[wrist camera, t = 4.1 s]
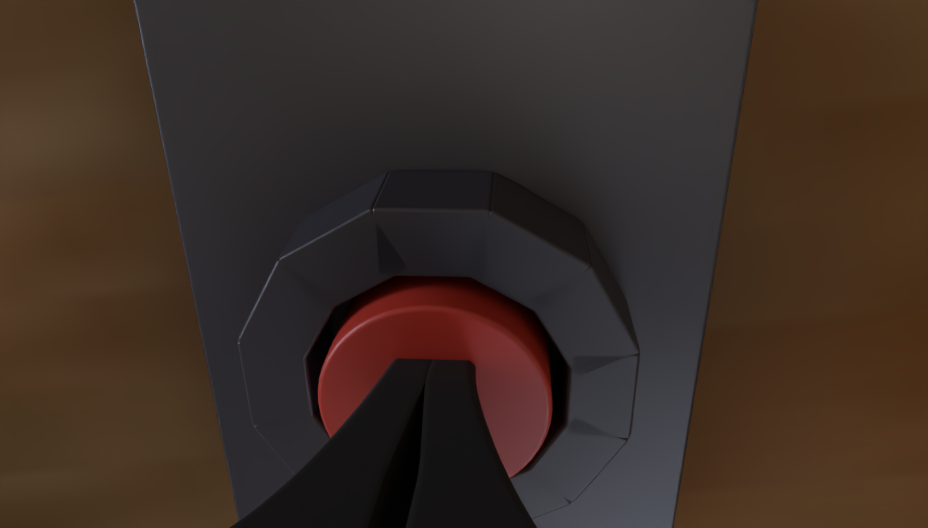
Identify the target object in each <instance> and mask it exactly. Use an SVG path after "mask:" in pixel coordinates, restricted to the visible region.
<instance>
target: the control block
mask: <svg viewBox="0 0 928 528" xmlns="http://www.w3.org/2000/svg"><path fill="white" fill-rule="evenodd" d="M133 1H134V6H135V11H136V15H137V20H138V25H139V30H140V35H141V40H142V45H143V50H144V55H145V60H146V65H147V70H148V75H149V80H150V85H151V90H152V95H153V100H154V105H155V110H156V114H157V119H158V124H159V129H160V134H161V139H162V144H163V149H164V154H165V159H166V164H167V169H168V174H169V179H170V184H171V189H172V194H173V199H174V204H175V209H176V213H177V218H178V223H179V228H180V233H181V238H182V243H183V248H184V253H185V258H186V263H187V268H188V273H189V278H190V283H191V288H192V293H193V298H194V303H195V308H196V313H197V317H198V322H199V327H200V332H201V337H202V342H203V347H204V352H205V357H206V362H207V367H208V372H209V377H210V382H211V387H212V392H213V397H214V402H215V407H216V412H217V416H218V421H219V426H220V431H221V436H222V441H223V446H224V451H225V456H226V461H227V466H228V471H229V476H230V481H231V486H232V491H233V496H234V501H235V506H236V511H237V515H238V520H239V521H240V520H241V519H243V518H244V517H245V516H247V515H248V514H249V513H251V512H252V511H253V510H254V509H256V508H257V507H258V506H259V505H261V504H262V503H263V502H264V501H265V500H266V499H268V498H269V497H270V496H271V495H272V494H273V493H275V492H276V491H277V490H278V489H279V488H280V487H281V486H283V485H284V484H285V483H286V482H287V481H288V480H289V479H290V478H291V477H292V476H293V475H295V474H296V473H297V472H298V471H299V470H300V469H301V468H302V467H303V466H304V465H305V464H306V463H307V462H308V461H309V460H310V459H311V458H312V457H313V456H314V455H315V454H316V453H317V452H318V450H319V449H320V448H321V447H322V446H323V445H324V444H325V443H326V442H327V441H328V440H329V439H330V436H329V434H328V432H327V430H326V428H325V426H324V423H323V420H322V417H321V413H320V408H319V404H318V384H319V377H320V373H321V370H322V366H323V364H324V361H325V359H326V357H327V354H328V352H329V349H330V347H331V345H332V342H333V340H334V337H335V335H336V333H337V330H338V328H339V325H340V323H341V321H342V318H343V316H344V313H345V311H346V309H347V307H348V305H349V302H350V300H351V299H352V298H353V297H355V296H357V295H359V294H361V293H363V292H365V291H367V290H369V289H371V288H373V287H375V286H377V285H379V284H381V283H383V282H385V281H387V280H389V279H391V278H392V277H394V276H434V277H471V278H473V279H475V280H477V281H479V282H480V283H482V284H484V285H486V286H488V287H490V288H492V289H494V290H495V291H497V292H499V293H501V294H503V295H505V296H507V297H509V298H511V299H512V300H514V301H516V302H518V303H520V304H522V305H524V306H526V307H527V308H529V309H531V310H533V311H534V312H535V313H536V315H537V317H538V318H539V320H540V321H541V323H542V325H543V326H544V328H545V329H546V331H547V335H548V344H549V358H550V373H551V388H552V409H553V410H552V418H551V424H550V427H549V430H548V433H547V436H546V438H545V440H544V442H543V444H542V446H541V447H540V449H539V450H538V452H537V453H536V455H535V456H534V457H533V459H532V460H531V461H530V462H529V463H528V464H527V465H526V466H525V467H524V468H523V469H522V470H520V471H519V472H518V473H517V474H515V475H514V476H512V477H511V478H510V480H511V482H512V484H513V486H514V488H515V490H516V492H517V494H518V495H519V497H520V499H521V501H522V503H523V504H524V506H525V508H526V510H527V511H528V513H529V515H530V516H531V518H532V520H533V522H534V523H535V525H536V526H537V528H673V527H674V520H675V514H676V508H677V502H678V496H679V489H680V483H681V477H682V471H683V464H684V458H685V452H686V446H687V440H688V433H689V427H690V421H691V415H692V409H693V402H694V396H695V390H696V384H697V377H698V371H699V365H700V359H701V353H702V346H703V340H704V334H705V328H706V322H707V315H708V309H709V303H710V297H711V290H712V284H713V278H714V272H715V266H716V259H717V253H718V247H719V241H720V234H721V228H722V222H723V216H724V210H725V203H726V197H727V191H728V185H729V179H730V172H731V166H732V160H733V154H734V147H735V141H736V135H737V129H738V123H739V116H740V110H741V104H742V98H743V92H744V85H745V79H746V73H747V67H748V60H749V54H750V48H751V42H752V36H753V29H754V23H755V17H756V11H757V5H758V0H133Z"/></svg>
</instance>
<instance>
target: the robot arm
mask: <svg viewBox="0 0 928 528" xmlns="http://www.w3.org/2000/svg"><path fill="white" fill-rule="evenodd" d="M230 528H537V526H536V525H535V523H534V522H533V520H532V518H531V516H530V515H529V513H528V511H527V510H526V508H525V506H524V504H523V503H522V501H521V499H520V497H519V495H518V494H517V492H516V490H515V488H514V486H513V484H512V482H511V480H510V478H509V476H508V474H507V472H506V470H505V467H504V465H503V463H502V461H501V459H500V456H499V454H498V452H497V449H496V447H495V445H494V442H493V439H492V437H491V434H490V431H489V428H488V426H487V423H486V420H485V417H484V414H483V411H482V407H481V403H480V400H479V396H478V391H477V386H476V366H475V365H474V364H473V363H472V362H470V361H469V360H439V359H404V358H396V359H395V360H394V361H393V362H392V363H391V364H390V365H389V366H388V368H387V369H386V371H385V372H384V373H383V375H382V376H381V378H380V379H379V380H378V382H377V383H376V384H375V386H374V387H373V388H372V389H371V391H370V392H369V393H368V395H367V396H366V397H365V398H364V400H363V401H362V402H361V403H360V405H359V406H358V407H357V408H356V409H355V411H354V412H353V413H352V414H351V415H350V416H349V418H348V419H347V420H346V421H345V422H344V423H343V425H342V426H341V427H340V428H339V429H338V430H337V431H336V433H335V434H334V435H333V436H332V437H331V438H330V439H329V440H328V441H327V442H326V443H325V444H324V445H323V446H322V447H321V448H320V449H319V450H318V452H317V453H316V454H315V455H314V456H313V457H312V458H311V459H310V460H309V461H308V462H307V463H306V464H305V465H304V466H303V467H302V468H301V469H300V470H299V471H298V472H297V473H296V474H295V475H293V476H292V477H291V478H290V479H289V480H288V481H287V482H286V483H285V484H284V485H283V486H281V487H280V488H279V489H278V490H277V491H276V492H275V493H273V494H272V495H271V496H270V497H269V498H268V499H266V500H265V501H264V502H263V503H262V504H261V505H259V506H258V507H257V508H256V509H254V510H253V511H252V512H251V513H249V514H248V515H247V516H245V517H244V518H243V519H241V520H240V521H239V522H237V523H236V524H235V525H233V526H232V527H230Z"/></svg>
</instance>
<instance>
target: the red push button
mask: <svg viewBox="0 0 928 528" xmlns="http://www.w3.org/2000/svg"><path fill="white" fill-rule="evenodd" d="M396 358H404V359H439V360H469V361H470V362H472V363H473V364H474V365H475V366H476V386H477V391H478V396H479V400H480V403H481V407H482V411H483V414H484V417H485V420H486V423H487V426H488V428H489V431H490V434H491V437H492V439H493V442H494V445H495V447H496V449H497V452H498V454H499V456H500V459H501V461H502V463H503V465H504V467H505V470H506V472H507V474H508V476H509V478H511V477H512V476H514V475H515V474H517V473H518V472H519V471H520V470H522V469H523V468H524V467H525V466H526V465H527V464H528V463H529V462H530V461H531V460H532V459H533V457H534V456H535V455H536V453H537V452H538V450H539V449H540V447H541V446H542V444H543V442H544V440H545V438H546V436H547V433H548V430H549V427H550V424H551V418H552V410H553V409H552V388H551V373H550V358H549V344H548V335H547V331H546V329H545V328H544V326H543V325H542V323H541V321H540V320H539V318H538V317H537V315H536V313H535V312H534V311H533V310H531V309H529V308H527V307H526V306H524V305H522V304H520V303H518V302H516V301H514V300H512V299H511V298H509V297H507V296H505V295H503V294H501V293H499V292H497V291H495V290H494V289H492V288H490V287H488V286H486V285H484V284H482V283H480V282H479V281H477V280H475V279H473V278H471V277H434V276H394V277H392V278H391V279H389V280H387V281H385V282H383V283H381V284H379V285H377V286H375V287H373V288H371V289H369V290H367V291H365V292H363V293H361V294H359V295H357V296H355V297H353V298H352V299H351V300H350V302H349V305H348V307H347V309H346V311H345V313H344V316H343V318H342V321H341V323H340V325H339V328H338V330H337V333H336V335H335V337H334V340H333V342H332V345H331V347H330V349H329V352H328V354H327V357H326V359H325V361H324V364H323V366H322V370H321V373H320V377H319V384H318V404H319V408H320V413H321V417H322V420H323V423H324V426H325V428H326V430H327V432H328V434H329V436H330V438H331V437H332V436H333V435H334V434H335V433H336V431H337V430H338V429H339V428H340V427H341V426H342V425H343V423H344V422H345V421H346V420H347V419H348V418H349V416H350V415H351V414H352V413H353V412H354V411H355V409H356V408H357V407H358V406H359V405H360V403H361V402H362V401H363V400H364V398H365V397H366V396H367V395H368V393H369V392H370V391H371V389H372V388H373V387H374V386H375V384H376V383H377V382H378V380H379V379H380V378H381V376H382V375H383V373H384V372H385V371H386V369H387V368H388V366H389V365H390V364H391V363H392V362H393V361H394V360H395V359H396Z"/></svg>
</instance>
